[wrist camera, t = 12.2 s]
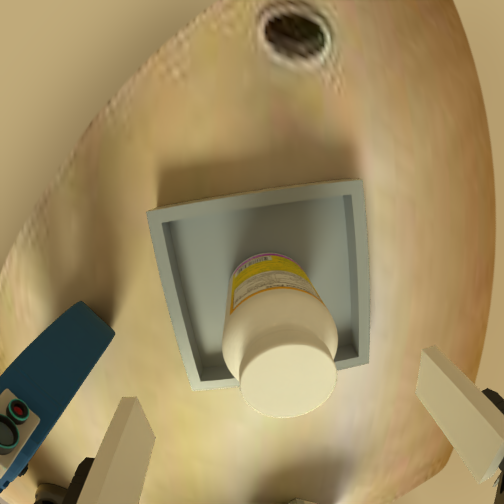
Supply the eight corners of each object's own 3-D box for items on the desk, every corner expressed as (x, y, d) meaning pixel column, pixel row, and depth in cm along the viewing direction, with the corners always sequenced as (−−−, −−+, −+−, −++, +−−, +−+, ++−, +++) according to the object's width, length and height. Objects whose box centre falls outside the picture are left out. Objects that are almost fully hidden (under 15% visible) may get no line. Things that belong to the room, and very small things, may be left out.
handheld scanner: (35, 366, 29) (-50, 479, 10) (97, 277, 27) (-43, 417, 8) (63, 392, 30) (-8, 515, 11) (133, 311, 28) (32, 483, 9)
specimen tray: (196, 372, 29) (192, 391, 26) (156, 207, 25) (146, 211, 22) (358, 346, 29) (368, 363, 26) (349, 178, 25) (362, 179, 22)
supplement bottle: (289, 334, 28) (317, 440, 15) (217, 310, 27) (200, 415, 14) (320, 265, 26) (381, 345, 14) (245, 237, 25) (247, 303, 13)
